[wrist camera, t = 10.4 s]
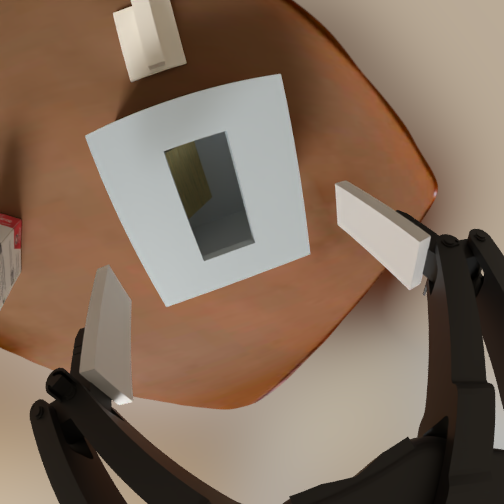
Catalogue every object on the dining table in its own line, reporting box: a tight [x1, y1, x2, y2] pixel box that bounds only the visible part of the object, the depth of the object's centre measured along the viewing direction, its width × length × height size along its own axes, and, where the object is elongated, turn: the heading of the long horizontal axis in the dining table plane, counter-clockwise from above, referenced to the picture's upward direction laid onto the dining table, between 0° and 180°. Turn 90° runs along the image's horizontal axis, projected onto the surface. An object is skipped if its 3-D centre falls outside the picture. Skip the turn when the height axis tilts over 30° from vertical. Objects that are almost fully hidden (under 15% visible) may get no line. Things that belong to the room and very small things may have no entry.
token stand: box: [113, 0, 187, 82], centre depth 19 cm, size 9×6×4 cm, turn 12°
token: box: [164, 141, 212, 219], centre depth 26 cm, size 7×2×7 cm
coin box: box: [85, 74, 310, 307], centre depth 25 cm, size 16×14×12 cm
